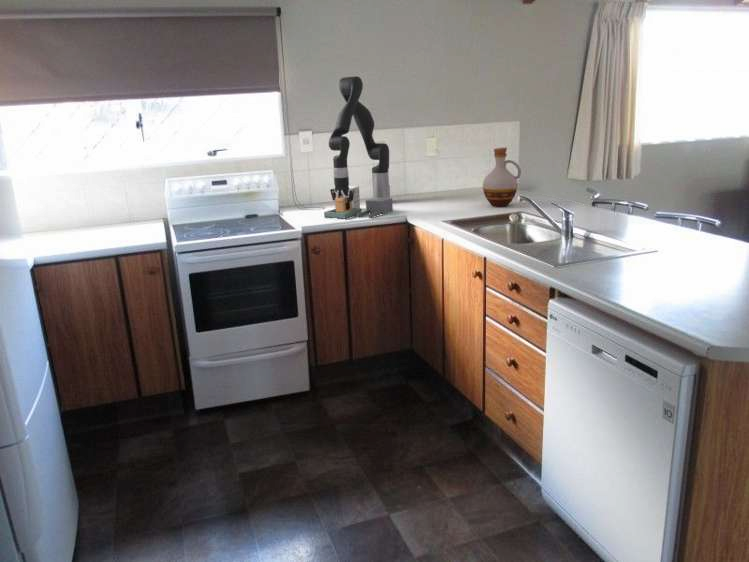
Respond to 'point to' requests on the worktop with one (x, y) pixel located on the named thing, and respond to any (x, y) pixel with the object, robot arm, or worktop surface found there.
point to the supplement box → (355, 196)
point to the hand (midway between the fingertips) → (343, 209)
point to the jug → (501, 181)
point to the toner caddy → (341, 205)
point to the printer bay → (377, 207)
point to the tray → (341, 213)
